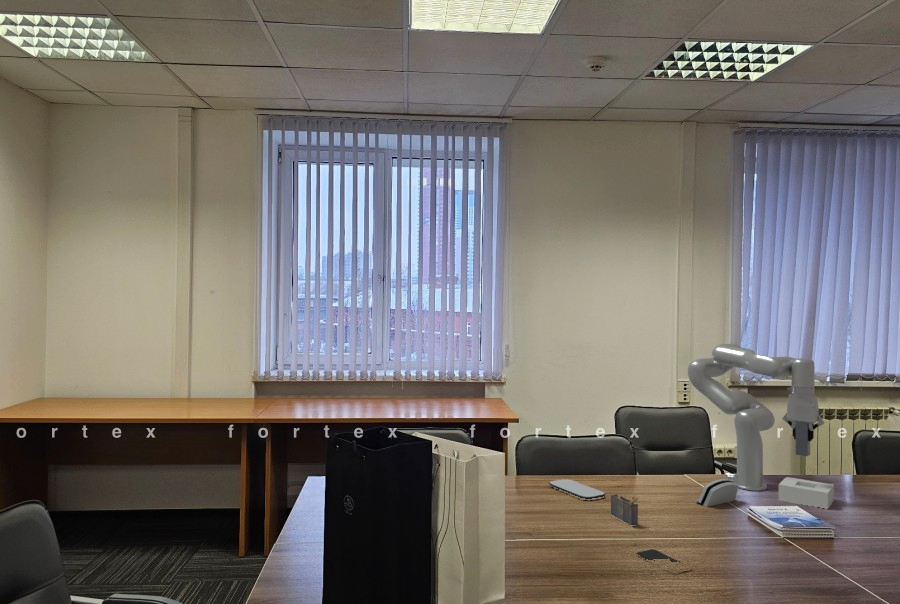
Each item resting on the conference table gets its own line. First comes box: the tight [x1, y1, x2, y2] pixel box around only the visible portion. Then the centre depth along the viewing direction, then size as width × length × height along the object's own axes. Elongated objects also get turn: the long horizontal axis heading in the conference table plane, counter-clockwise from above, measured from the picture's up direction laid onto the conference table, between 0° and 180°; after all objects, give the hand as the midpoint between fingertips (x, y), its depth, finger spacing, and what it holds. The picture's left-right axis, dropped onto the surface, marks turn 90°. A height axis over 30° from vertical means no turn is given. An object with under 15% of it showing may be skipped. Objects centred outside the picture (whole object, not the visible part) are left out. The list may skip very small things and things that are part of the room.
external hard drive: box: [548, 478, 606, 499], centre depth 238 cm, size 24×12×2 cm, turn 29°
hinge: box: [694, 478, 739, 508], centre depth 225 cm, size 17×5×10 cm, turn 119°
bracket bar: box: [795, 421, 811, 457], centre depth 229 cm, size 4×4×14 cm
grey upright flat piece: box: [610, 493, 639, 526], centre depth 205 cm, size 11×3×10 cm, turn 20°
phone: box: [636, 549, 684, 564], centre depth 172 cm, size 7×1×15 cm
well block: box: [778, 476, 835, 510], centre depth 229 cm, size 16×14×6 cm
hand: (803, 439), depth 229 cm, fingers closed on bracket bar, 4 cm apart
